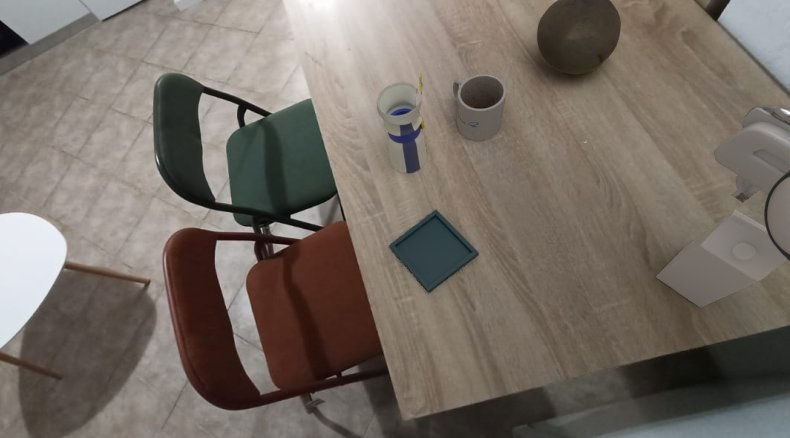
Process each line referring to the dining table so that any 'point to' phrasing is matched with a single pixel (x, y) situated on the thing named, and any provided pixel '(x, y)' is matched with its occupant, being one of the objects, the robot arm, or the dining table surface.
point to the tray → (433, 250)
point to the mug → (479, 106)
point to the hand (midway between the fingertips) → (781, 222)
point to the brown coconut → (578, 34)
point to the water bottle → (403, 126)
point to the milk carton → (723, 260)
